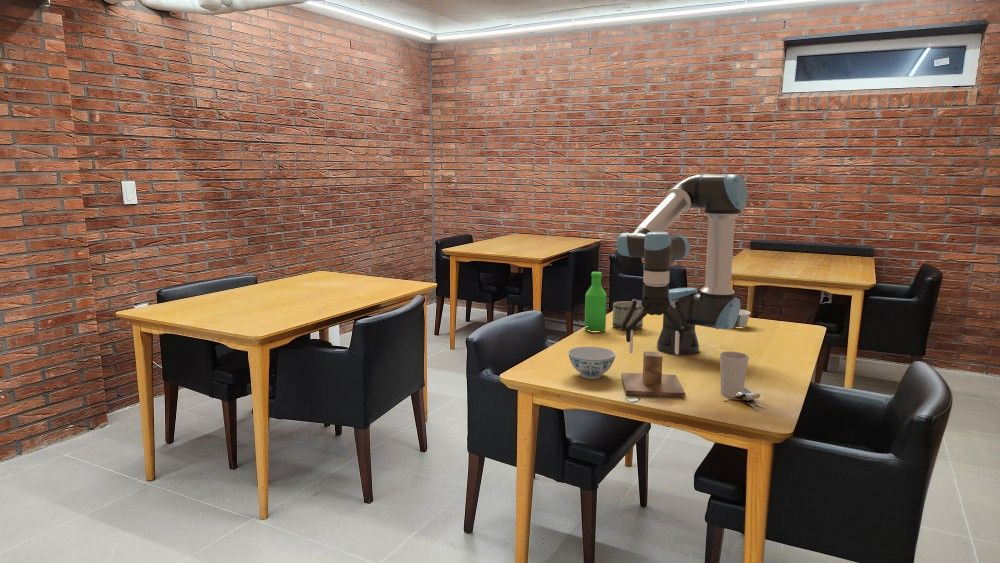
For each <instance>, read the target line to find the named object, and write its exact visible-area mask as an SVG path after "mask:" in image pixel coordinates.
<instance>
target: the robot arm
mask: <svg viewBox="0 0 1000 563" xmlns="http://www.w3.org/2000/svg"><path fill="white" fill-rule="evenodd" d="M748 195H749V194H748V187H747V184H746V181H745V180H744V178H743V177H742V176H741V175H738V174H730V173H725V174H702V173H701V174H700V173H699V174H694V175H692V176H689V177H686V178H685V179H682V180H680V181H679V182H677V183H676V184H674V185H673V186H672V187H671V188H670V189H668V191H667V192H666V194H665V196H664V199H663V200H662V201H661V202H660V203H659V204H658V205H657V206H656V207H655V208H654V209H653V210H652V211H651V213H649V215H647V217H646V218H645V219H644V220H643V221H641V223H640V224H639V225H638V226H637V227H636V228H635V229H634V230H633V231H632V232H623V233H621V234H620V235H619V236H618V237H617V239H616V249H617V253H618V254H619V255H620V256H622V257H623V256H624V257H628V258H640V259H641V258H643V280H642V281H643V282H642V283H644V284H643V286H642V299H641V300H639V299H635V298H632V299H631V302H632V304H631V307H630V309H629V311H628V313H627V314H626V316H625V318H624V320H623V322H622V323H621V325H620V327H621V329H620V330H621V331H624V332H625V333H626V334H625V340H626V343H629V348H628V349H629V351H628V352H629V354H634V353H633V352H634V350H633V348H634V330H632V329H633V328H634V327H635V326H636V325H637V324H638V323H639V322H640V321H641V320H642V319H644V318H645V317H646V316H647V315H650V316H655V315H656V316H662V329H661V331H660V334H659V337H658V339H657V340H656V341H657V342H656V348H657V350H658V351H659V352H663V353H667V354H673V355H694V354H697V353H699V350H700V344H699V340H698V337H697V333H696V326H700V327H706V328H712V329H716V330H725V331H726V330H730V329H733V328H732V327H733V326H734V324H735V323H736V321H737V318H738V316H739V312H740V309H741V299H740V298H737V297H735V295H736V292H735V290H734V289H733V288H732V286H731V285H732V270H733V254H734V238H735V224H736V218H737V217H739V216H740V215H741V210H743V209H745V208H746V206H747V202H748ZM695 208H700V209H704V215H705V217H707V218H708V225H707V226H708V228H707V240H706V241H707V244H706V245H707V246H706V261H705V262H706V263H705V279H704V280H705V281H704V286H703V287H702V288H700V291H699V290H698V288H696V287H676V288H671V289H670V286H669V283H670V270H671V268H670V266H671V262H675V261H679V260H681V259H684V258H686V257H687V256H688V255H689V253H690V251H691V245H690V244H691V243H690V240H688V238H686V237H685V236H684V235H681V234H679V235H676V234H674V235H671V234H670V233H669V232H666V230H668V228H669V227H670V226H671V225H672V224H673V223H674V222H675V221H676V220H677V218H678V217H679V216H680V215H681V214H683V213H686V212H688V211H689V210H691V209H695ZM640 304H641V305H642V306H643V309H642V311H641V312H640V313H639V314H638V315H637V316H636V318H635V319H634V320H633V321H632V322H631V323H630V324H629V325H628V326H627V324H628V322H629V320H630V318H631V317H632V315H633V313H634V311H635V309H636V307H638V306H639V305H640Z"/></svg>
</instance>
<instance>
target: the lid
mask: <svg viewBox="0 0 1000 563" xmlns="http://www.w3.org/2000/svg"><path fill="white" fill-rule="evenodd" d="M642 361H643V365H642V373H638V372H621V380H622V384H623V388H624V393H625V394H626V395H627V394H643V395H666V396H683V397H686V392H685V391H684V388H683V386H682V384H681V382H680V380H679V378H678V377H677V375H676V374H665V373H664V374H663V361H664V360H663V355H662V351H643V360H642Z"/></svg>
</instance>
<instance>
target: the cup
mask: <svg viewBox="0 0 1000 563" xmlns="http://www.w3.org/2000/svg"><path fill="white" fill-rule="evenodd" d="M749 358H750V356H749V355H748V354H746V353H743V352H740V351H731V350H729V351H721V352H720V353H719V366H720V367H719V370H720V395H722V396H724V397H726V398H731V399H735V398H734V397H735V396H736V393H738V392H742V391H743V392H744V389H745V382H746V376H747V371H748V370H747V369H748V365H749Z"/></svg>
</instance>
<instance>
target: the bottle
mask: <svg viewBox="0 0 1000 563" xmlns="http://www.w3.org/2000/svg"><path fill="white" fill-rule="evenodd" d="M590 276H591V285H590V287H589V288H588V290H587V291H586V292H585V295H584V296H585V297H584V300H585V301H584V329H585V331H586V330H590V331H603V332H604V331H605V330H606V327H607V326H606V325H607V324H606V322H607V300H608V299H607V296H608V295H607V293H606V291H605V289H604V288H603V286H602V277H603V273H602V272H600V271H592V272H591V274H590ZM586 326H588V327H586ZM585 327H586V328H585Z"/></svg>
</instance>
